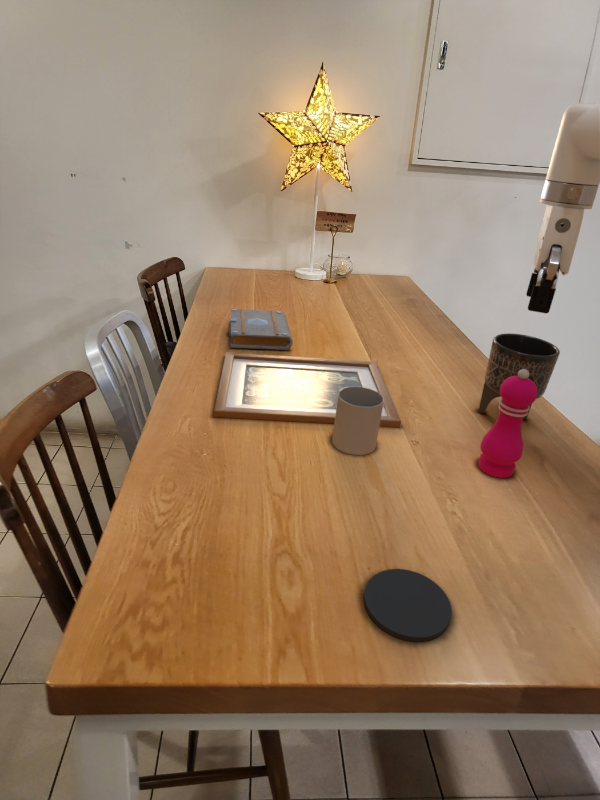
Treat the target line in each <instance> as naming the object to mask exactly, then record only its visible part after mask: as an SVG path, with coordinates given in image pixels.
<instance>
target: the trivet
mask: <svg viewBox="0 0 600 800" xmlns="http://www.w3.org/2000/svg"><path fill="white" fill-rule="evenodd" d="M450 601H451V600H450V599H449V597H448V595H447V594H446V593H445V591H444V590H443V589H442V587H441V586H439V584H437V583H436V582H435V581H434V580H433V579H431V578H429V577H427V576H426V575H424V574H421V573H419V572H416V571H413V570H410V569H404V568H390V569H386V570H383V571H380V572H377V573H375V574H374V575H373V576H372V577H371V578H370V579H369V580H368V582H367V583H366V585H365V588H364V593H363V604H364V608H365V611H366V613H367V615H368V617H369V618H370V619H371V620H372V621H373V623H374V624H375V625H376V626H377V627H378V628H380V629H381V630H382V631H383V632H385V633H386V634H388V635H390V636H392V637H394V638H397V639H400V640H403V641H409V642H414V643H415V642H416V643H419V642H429V641H432V640H435V639H437V638H439V637H440V636H441V635H443V634H444V633H445V632H446V630H447V629H448V628H449V625H450V623H451V620H452V614H453V613H452V611H453V610H452V605H451V602H450Z"/></svg>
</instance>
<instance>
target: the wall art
mask: <svg viewBox="0 0 600 800" xmlns="http://www.w3.org/2000/svg"><path fill="white" fill-rule="evenodd" d="M347 387H364V388H369V389H372V390H374V391H376V392H378V393H379V394H381V395H382V396H383V399H384V403H383V409H382V414H381V420H380V426H379V427H389V428H400V427H401V425H402V420H401V417H400V415H399V414H398V411H397V409H396V406H395V404H394V402H393V399H392V397H391V394H390V393H389V390H388V387H387V385H386V383H385V380H384V379H383V376H382V374H381V371H380V369H379V367H378V365H377V362H376V361H370V360H369V361H367V360H353V359H352V360H351V359H339V358H338V359H336V358H323V357H322V358H321V357H307V356H306V357H305V356H293V355H292V356H291V355H278V354H277V355H275V354H262V353H261V354H259V353H245V352H230V351H226V352H225V355H224V359H223V365H222V369H221V373H220V379H219V384H218V390H217V394H216V399H215V404H214V408H213V417H214V418H225V419H243V420H259V421H260V420H261V421H262V420H263V421H278V422H280V421H281V422H296V423H301V422H302V423H317V424H332V425H334V423H335V416H336V408H337V401H338V394H339V391H340V390H342V389H343V388H347Z"/></svg>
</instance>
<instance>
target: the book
mask: <svg viewBox="0 0 600 800" xmlns="http://www.w3.org/2000/svg"><path fill="white" fill-rule="evenodd" d="M228 323H229V324H228V336H229V337H230V348H232V349H254V350H255V349H257V350H280V351H281V350H282V351H283V350H284V351H289V350H290V349H291V348H292V346H293V344H294V343H293V342H294V341H293V338H292V337H293V336H292V334H291V330H290V327H289V323H288V318H287V315H286V313H285V312H284V311H283V310H282V311H281V310H263V309H244V308H230V318H229V322H228Z"/></svg>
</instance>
